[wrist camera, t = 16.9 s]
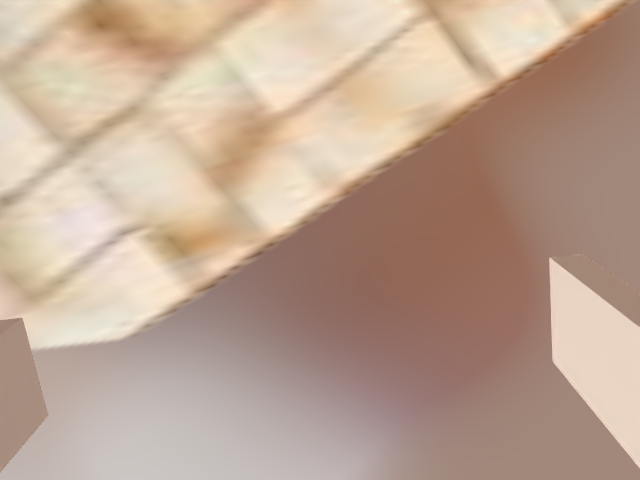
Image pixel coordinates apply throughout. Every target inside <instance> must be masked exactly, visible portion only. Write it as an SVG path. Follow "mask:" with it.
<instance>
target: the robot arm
mask: <svg viewBox="0 0 640 480" xmlns="http://www.w3.org/2000/svg"><path fill="white" fill-rule="evenodd" d="M550 290H551V324H552V356H553V362H554V364H555V365H556V366H557V367H558V368H559V370H560V371H561V372H562V373H563V374H564V376H565V377H566V378H567V379H568V381H569V382H570V383H571V384H572V386H573V387H574V388H575V389H576V390H577V391H578V393H579V394H580V395H581V397H582V398H583V399H584V400H585V402H586V403H587V404H588V405H589V406H590V408H591V409H592V410H593V411H594V413H595V414H596V415H597V416H598V418H599V419H600V420H601V421H602V422H603V424H604V425H605V426H606V427H607V429H608V430H609V431H610V432H611V433H612V434H613V436H614V437H615V438H616V440H617V441H618V442H619V443H620V444H621V446H622V447H623V448H624V449H625V451H626V452H627V453H628V454H629V455H630V457H631V458H632V459H633V460H634V462H635V463H636V464H637V465H638V466H639V468H640V292H638V291H637V290H635V289H634V288H632V287H631V286H629V285H627V284H626V283H625V282H623V281H622V280H620V279H619V278H617V277H616V276H614V275H613V274H611V273H610V272H608V271H607V270H605V269H603V268H602V267H601V266H599V265H598V264H596V263H595V262H593V261H592V260H590V259H589V258H587V257H586V256H584V255H583V254H575V255H567V256H557V257H550ZM47 416H48V413H47V409H46V405H45V401H44V398H43V394H42V390H41V386H40V383H39V379H38V375H37V371H36V367H35V364H34V360H33V356H32V352H31V349H30V345H29V341H28V337H27V333H26V330H25V326H24V322H23V318H16V319H8V320H0V472H1V471H2V470H3V468H4V467H5V466H6V465H7V463H8V462H9V461H10V460H11V459H12V458H13V457H14V455H15V454H16V453H17V452H18V451H19V449H20V448H21V447H22V446H23V445H24V444H25V442H26V441H27V440H28V439H29V437H30V436H31V435H32V434H33V433H34V432H35V430H36V429H37V428H38V427H39V426H40V425H41V423H42V422H43V421H44V420H45V419H46V417H47Z"/></svg>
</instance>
